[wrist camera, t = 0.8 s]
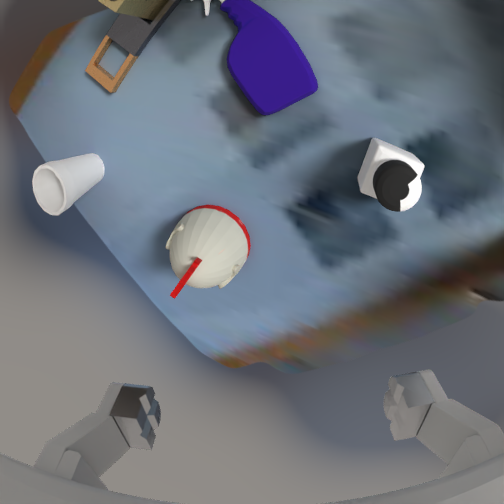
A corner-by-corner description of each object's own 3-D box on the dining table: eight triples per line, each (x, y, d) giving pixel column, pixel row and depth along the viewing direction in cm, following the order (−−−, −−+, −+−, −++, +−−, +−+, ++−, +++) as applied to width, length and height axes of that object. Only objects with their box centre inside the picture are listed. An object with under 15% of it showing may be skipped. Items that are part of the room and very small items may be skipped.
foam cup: (107, 143, 54) (60, 162, 44) (114, 189, 59) (71, 215, 48) (73, 148, 57) (27, 167, 46) (80, 189, 61) (39, 214, 50)
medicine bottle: (356, 178, 47) (362, 205, 37) (372, 136, 44) (383, 151, 34) (397, 194, 47) (412, 226, 37) (414, 154, 43) (436, 175, 33)
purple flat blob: (324, 87, 40) (235, -39, 32) (258, 122, 44) (177, -1, 37) (325, 87, 42) (241, -33, 35) (262, 120, 47) (185, 3, 40)
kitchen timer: (167, 242, 62) (127, 285, 49) (201, 189, 55) (159, 225, 42) (225, 284, 64) (197, 336, 51) (265, 237, 56) (242, 287, 44)
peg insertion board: (156, -27, 36) (152, -29, 35) (188, -8, 38) (184, -10, 37) (90, 70, 48) (85, 70, 46) (115, 92, 49) (110, 92, 48)
